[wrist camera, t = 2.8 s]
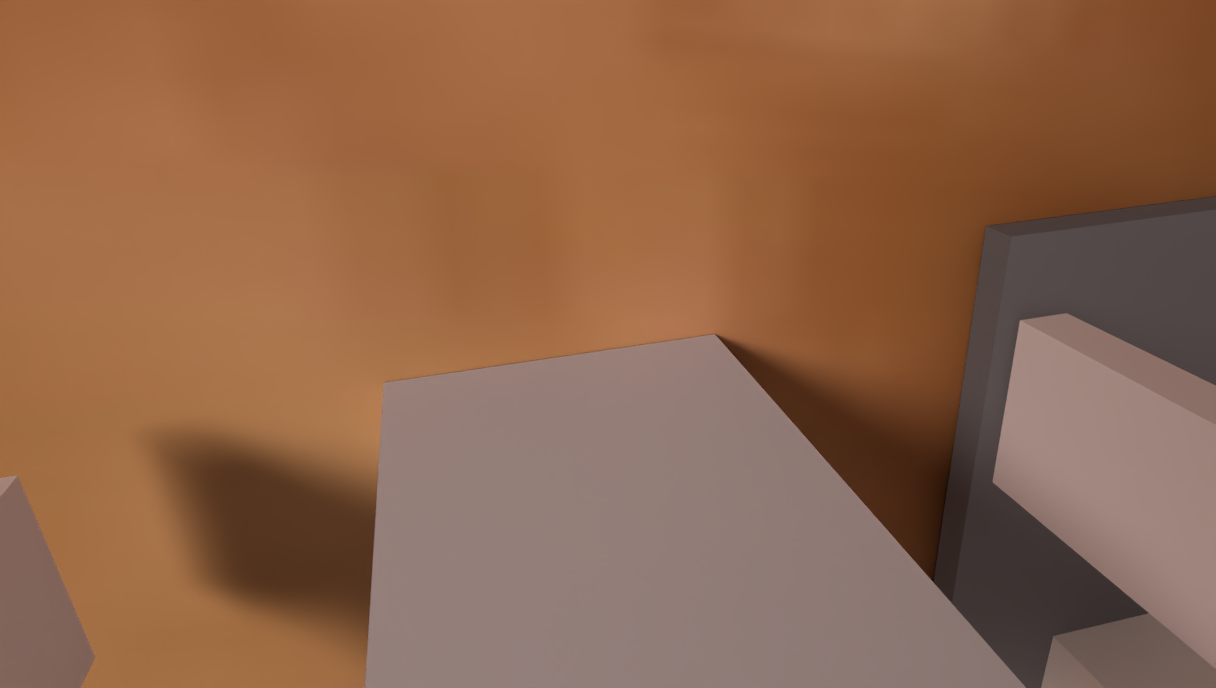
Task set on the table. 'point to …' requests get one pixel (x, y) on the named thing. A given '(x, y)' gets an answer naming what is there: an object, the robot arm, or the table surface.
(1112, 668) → the domino
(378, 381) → the table surface
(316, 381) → the table surface
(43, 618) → the robot arm
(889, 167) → the table surface
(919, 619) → the domino
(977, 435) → the mat
